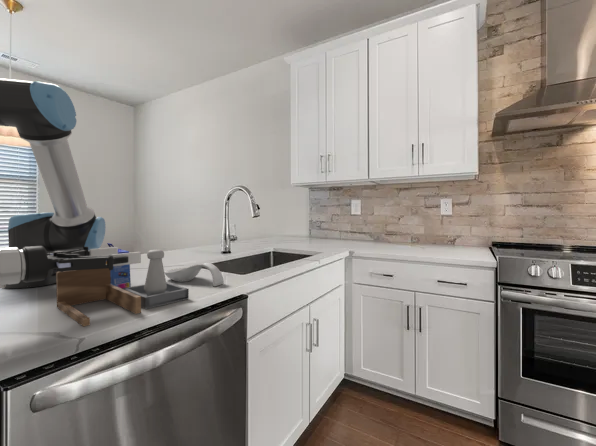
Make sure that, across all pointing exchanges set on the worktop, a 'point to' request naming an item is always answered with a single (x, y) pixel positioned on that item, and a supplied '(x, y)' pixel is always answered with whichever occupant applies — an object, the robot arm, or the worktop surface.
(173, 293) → the tray
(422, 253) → the worktop surface
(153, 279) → the salt shaker
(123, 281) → the ink cartridge box
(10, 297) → the worktop surface
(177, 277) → the spoon rest
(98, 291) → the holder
